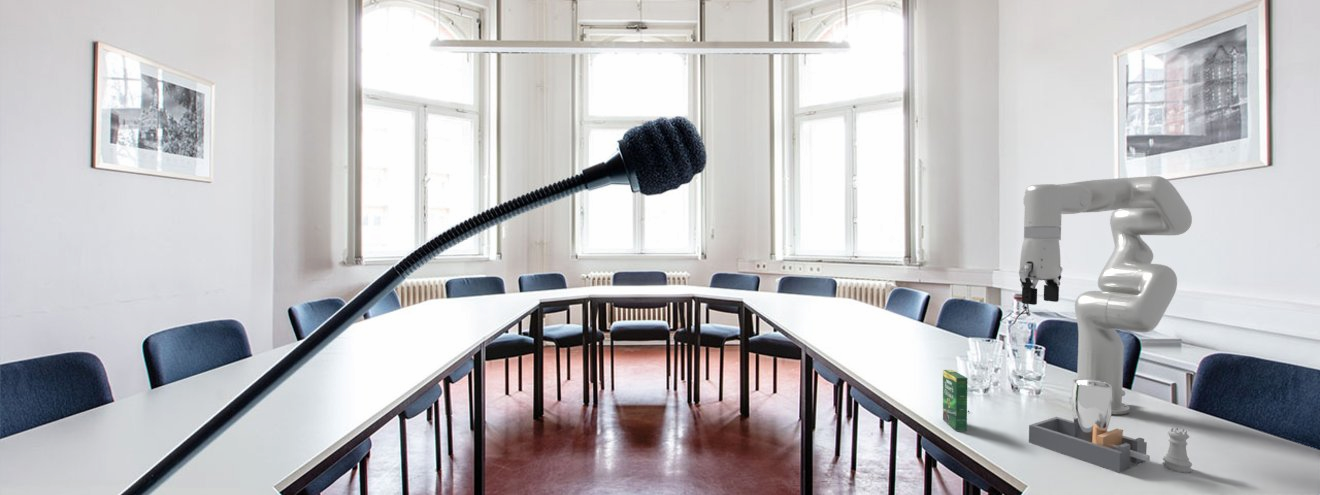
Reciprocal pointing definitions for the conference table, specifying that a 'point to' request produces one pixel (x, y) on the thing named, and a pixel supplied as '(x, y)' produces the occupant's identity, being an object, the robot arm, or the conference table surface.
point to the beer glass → (1091, 408)
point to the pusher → (1118, 443)
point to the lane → (1085, 445)
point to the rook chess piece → (1177, 452)
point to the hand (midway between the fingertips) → (1040, 302)
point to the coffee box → (955, 400)
